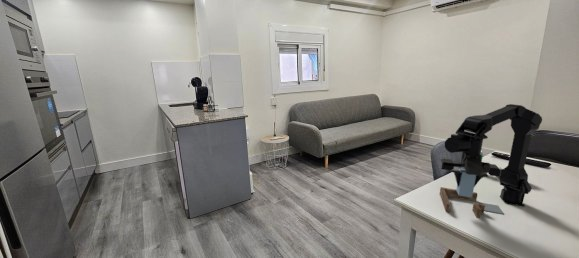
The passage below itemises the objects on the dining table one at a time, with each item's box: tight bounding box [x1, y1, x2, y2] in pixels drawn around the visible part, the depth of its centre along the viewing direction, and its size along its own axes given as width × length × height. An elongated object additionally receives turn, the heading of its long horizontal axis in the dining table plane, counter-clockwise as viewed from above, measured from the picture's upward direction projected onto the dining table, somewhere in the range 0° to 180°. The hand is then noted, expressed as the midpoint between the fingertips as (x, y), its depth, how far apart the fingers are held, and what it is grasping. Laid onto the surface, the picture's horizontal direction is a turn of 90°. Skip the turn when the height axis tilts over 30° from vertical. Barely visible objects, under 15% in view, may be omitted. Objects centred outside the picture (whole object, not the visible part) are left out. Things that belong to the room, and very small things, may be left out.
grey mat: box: [478, 202, 505, 215], centre depth 99 cm, size 6×6×1 cm
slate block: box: [455, 168, 476, 197], centre depth 95 cm, size 4×4×10 cm
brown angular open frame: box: [439, 187, 485, 219], centre depth 101 cm, size 14×16×4 cm
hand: (465, 186), depth 95 cm, fingers closed on slate block, 4 cm apart
